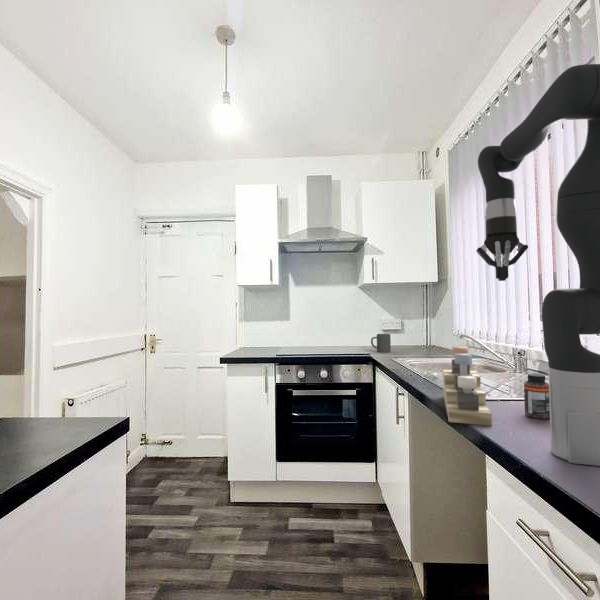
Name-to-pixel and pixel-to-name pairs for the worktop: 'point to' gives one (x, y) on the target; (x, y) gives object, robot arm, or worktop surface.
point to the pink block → (459, 350)
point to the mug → (382, 343)
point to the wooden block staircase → (464, 399)
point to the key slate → (463, 362)
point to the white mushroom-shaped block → (467, 383)
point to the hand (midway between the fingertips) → (502, 280)
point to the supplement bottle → (536, 397)
